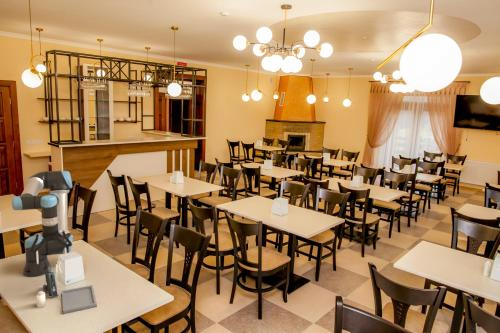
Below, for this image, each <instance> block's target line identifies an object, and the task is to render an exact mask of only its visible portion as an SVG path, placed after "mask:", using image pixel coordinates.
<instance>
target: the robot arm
mask: <svg viewBox="0 0 500 333" xmlns="http://www.w3.org/2000/svg"><path fill="white" fill-rule="evenodd" d="M72 180H73V179H72V176H71V173H70V171H68V170H54V171H53V170H52V171H50V170H49V171H47V170H45V171H40V172H37V173H34V174H33V175H31V176H29V177H28V179H27V180H26V182H25V187H24V189H23V191H22V193H21V194H20V195H18V196H13V197H12V200H11V202H12V203H11V207H12V209H13V210H14V211H28V210H40V212H41V230H42V233H37V232H36V233H35V235H32V236H29V237H28V238H26V240H25V241H24V250H25V252H24V253H25V262H24V263H25V264H24V268H23V273H22V274H23V275H24V277H27V278H28V277H30V278H33V277H41V276H45V273H47V270H48V269H47V267H48V266H50V270H51V271H52V266H51V263H50V261H49V259H48V256H53V255H64V259H65V260H67V259H68V256H67V255H68V254H69V253H71V251H72V248H73V241H74V235H73V234H71V231H70V230H69V229H68V228H69V227H68V226H69V224H68V223H69V222H68V220H69V218H68V214H69V213H68V211H69V210H68V194H69V193H70V190H71V189H72V188H73V182H72ZM41 190H49V193H47V194H45V195H44V194H43V195H42V194H40V195H39V193H40V191H41Z"/></svg>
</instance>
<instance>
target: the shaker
mask: <svg viewBox="0 0 500 333" xmlns="http://www.w3.org/2000/svg"><path fill="white" fill-rule="evenodd" d="M35 295H36V307H37V309H43V308H45V307H46V292H45V291H44V290H39V291H38V292H37V293H36V294H35Z"/></svg>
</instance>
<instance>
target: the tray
mask: <svg viewBox="0 0 500 333" xmlns="http://www.w3.org/2000/svg"><path fill="white" fill-rule="evenodd" d="M61 299H62V313H63V315H67V314H71V313H76V312H80V311H85V310H89V309H94V308H97V307H98V306H97V298H96V294H95V291H94V286H93V284H92V285H86V286H81V287H76V288H71V289H65V290H62V291H61Z"/></svg>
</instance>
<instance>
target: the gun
mask: <svg viewBox="0 0 500 333" xmlns="http://www.w3.org/2000/svg"><path fill="white" fill-rule="evenodd" d="M47 269H48V270H47V273H45V274H44V276H45V277H44V278H45V281H46V282H45V284H43V285H42V289H43V291H44V293H48V297H51V298H55V297H58V296H59V294H58V289H57V283H56V275H55V272H54V271H52V269H51V270H50V266H48V267H47Z"/></svg>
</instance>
